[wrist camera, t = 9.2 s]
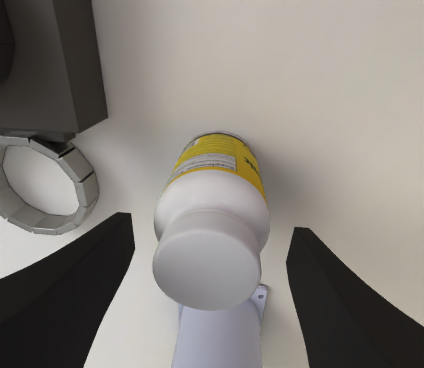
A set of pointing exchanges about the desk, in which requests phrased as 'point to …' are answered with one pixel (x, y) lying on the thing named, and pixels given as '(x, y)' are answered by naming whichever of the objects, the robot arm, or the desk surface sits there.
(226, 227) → the supplement bottle
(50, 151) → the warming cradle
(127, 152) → the desk surface
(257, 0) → the desk surface
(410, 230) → the desk surface
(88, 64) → the power button base
